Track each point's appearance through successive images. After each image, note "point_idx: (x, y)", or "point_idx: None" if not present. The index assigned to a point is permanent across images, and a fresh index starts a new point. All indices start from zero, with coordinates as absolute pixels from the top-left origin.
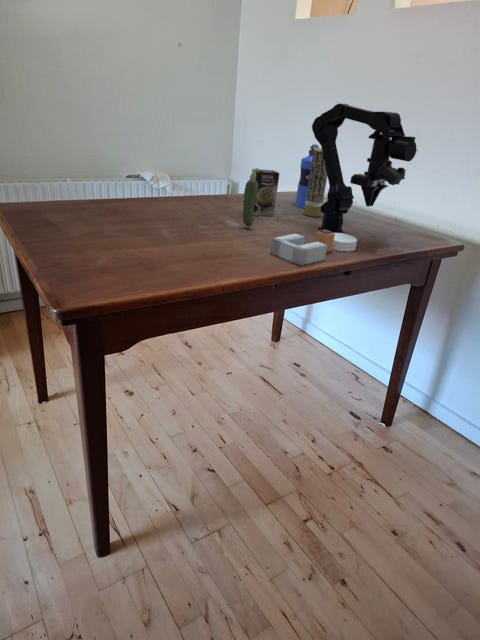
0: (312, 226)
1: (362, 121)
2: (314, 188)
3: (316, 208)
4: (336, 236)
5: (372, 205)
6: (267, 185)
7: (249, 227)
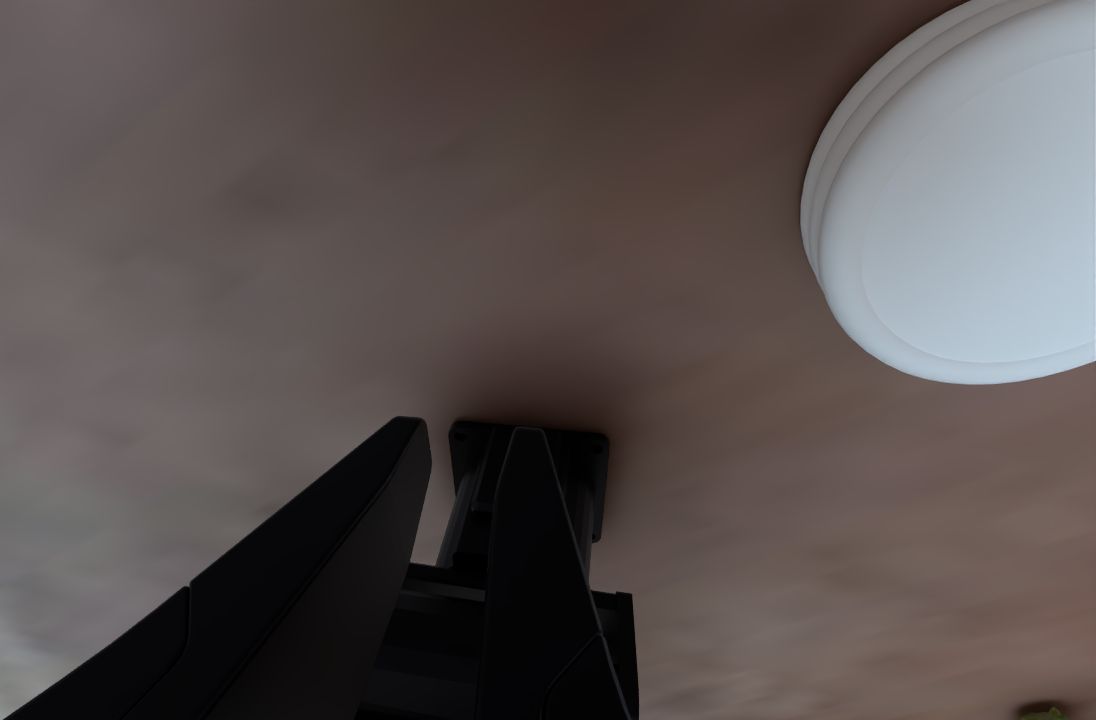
0: None
1: None
2: None
3: None
4: (1056, 282)
5: (401, 423)
6: None
7: (1059, 717)
